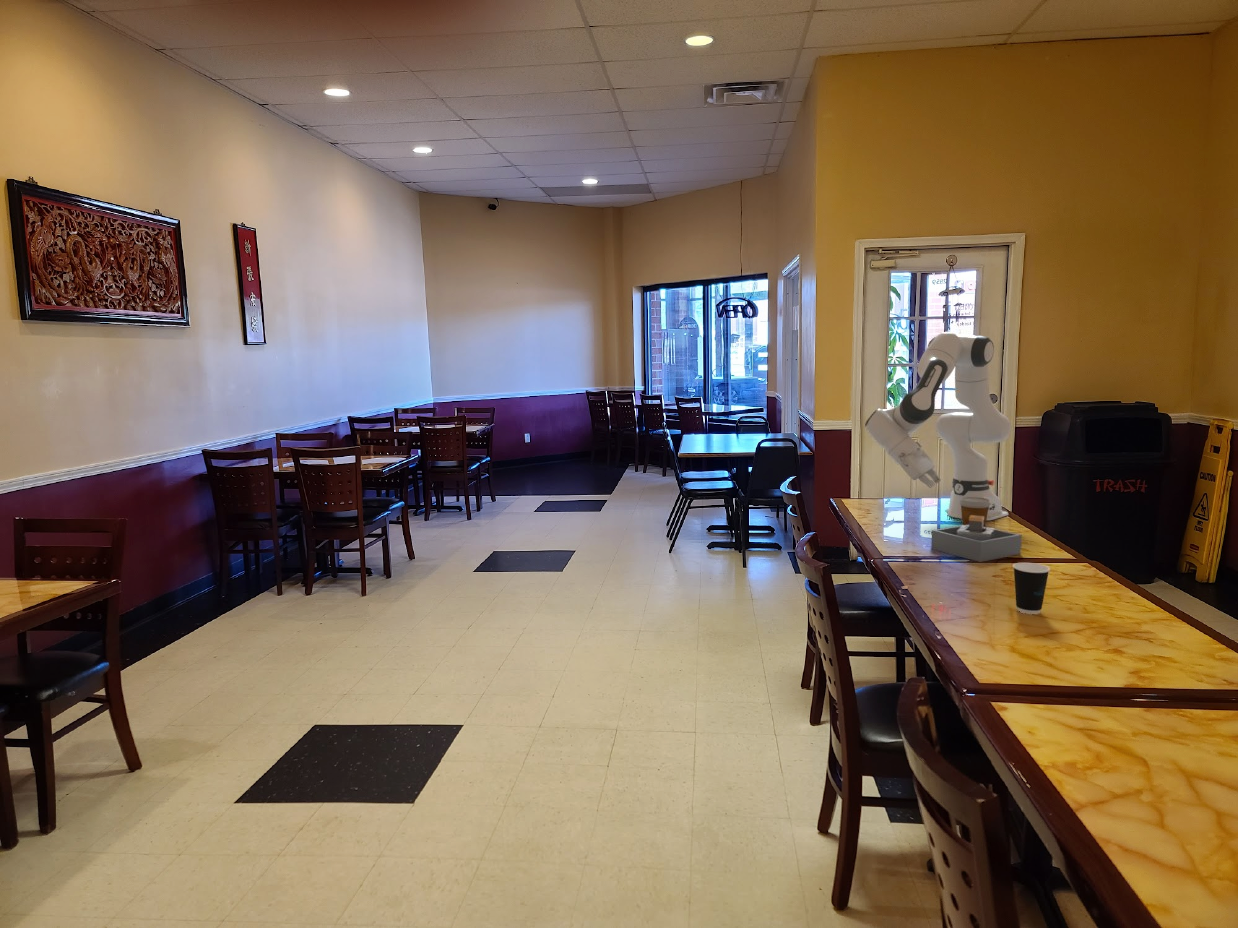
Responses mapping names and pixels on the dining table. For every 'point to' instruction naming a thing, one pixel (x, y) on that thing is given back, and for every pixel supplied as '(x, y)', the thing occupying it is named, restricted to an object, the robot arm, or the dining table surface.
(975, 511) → the disposable coffee cup
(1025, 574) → the dixie cup
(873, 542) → the dining table surface
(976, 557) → the walled box
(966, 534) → the inlet socket
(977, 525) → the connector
